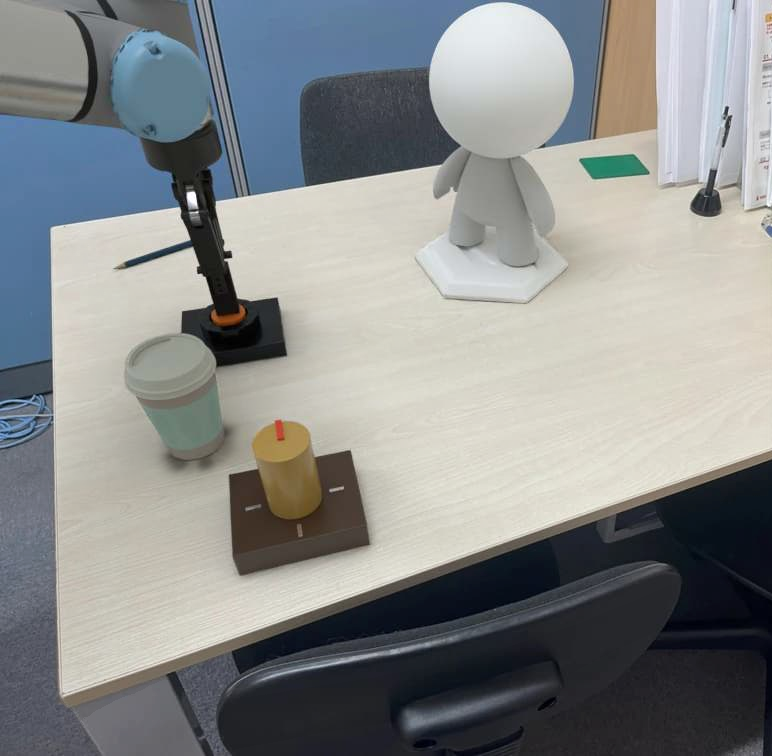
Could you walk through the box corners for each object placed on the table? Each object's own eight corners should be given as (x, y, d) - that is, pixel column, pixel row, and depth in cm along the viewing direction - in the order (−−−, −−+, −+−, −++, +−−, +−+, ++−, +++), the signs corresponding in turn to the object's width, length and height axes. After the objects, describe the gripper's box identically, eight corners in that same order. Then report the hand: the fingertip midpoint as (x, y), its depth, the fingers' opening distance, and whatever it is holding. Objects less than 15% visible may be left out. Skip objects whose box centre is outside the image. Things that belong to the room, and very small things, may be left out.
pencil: (215, 239, 109) (115, 273, 102) (212, 237, 110) (112, 270, 102) (214, 234, 109) (113, 267, 101) (211, 232, 109) (110, 264, 101)
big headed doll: (586, 251, 110) (616, 2, 87) (504, 323, 95) (515, 47, 72) (480, 214, 118) (482, -23, 95) (389, 275, 103) (366, 12, 80)
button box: (185, 372, 86) (176, 346, 83) (186, 324, 93) (177, 299, 90) (287, 355, 89) (281, 330, 86) (280, 310, 96) (275, 285, 93)
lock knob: (325, 512, 67) (313, 452, 61) (271, 525, 66) (253, 465, 60) (318, 473, 70) (306, 413, 65) (266, 485, 69) (249, 425, 64)
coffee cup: (224, 403, 82) (198, 320, 74) (247, 450, 77) (222, 365, 69) (146, 430, 78) (110, 345, 70) (165, 482, 73) (128, 396, 65)
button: (214, 336, 87) (211, 324, 86) (214, 317, 90) (210, 306, 89) (248, 330, 88) (245, 319, 87) (246, 312, 91) (244, 301, 90)
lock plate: (239, 575, 65) (231, 555, 63) (235, 493, 72) (228, 473, 70) (370, 544, 68) (367, 524, 66) (353, 468, 75) (350, 448, 73)
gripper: (139, 102, 76) (196, 286, 92) (131, 152, 67) (196, 347, 82) (213, 96, 78) (256, 278, 93) (215, 144, 69) (263, 337, 84)
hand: (228, 310), depth 88 cm, fingers closed
